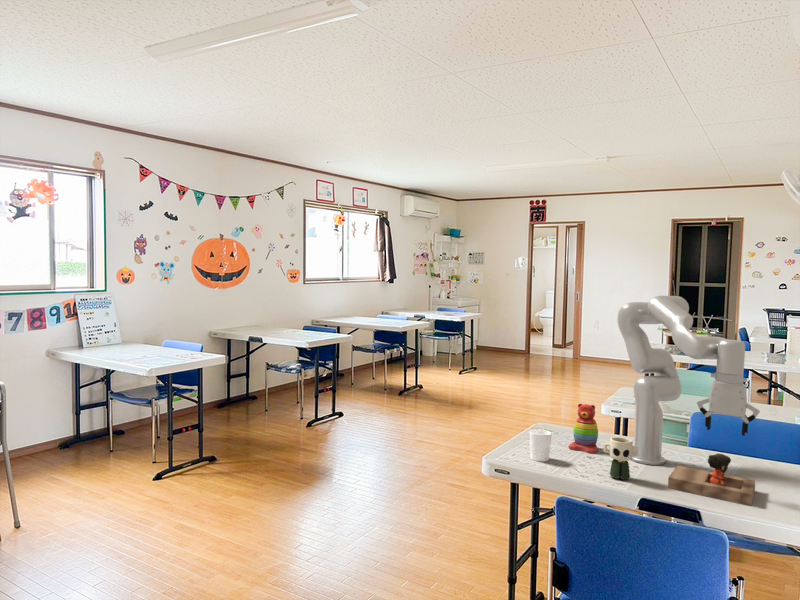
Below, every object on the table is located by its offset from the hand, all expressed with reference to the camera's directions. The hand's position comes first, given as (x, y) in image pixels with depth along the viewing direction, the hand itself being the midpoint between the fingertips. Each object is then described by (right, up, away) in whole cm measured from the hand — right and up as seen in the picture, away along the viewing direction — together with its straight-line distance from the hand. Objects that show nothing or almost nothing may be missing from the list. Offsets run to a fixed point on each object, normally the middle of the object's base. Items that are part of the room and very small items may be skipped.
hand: (725, 431), depth 181 cm
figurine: (-2, -19, +1) cm, 20 cm away
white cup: (-52, -17, +29) cm, 62 cm away
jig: (-4, -19, +3) cm, 20 cm away
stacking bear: (-31, -17, +44) cm, 57 cm away
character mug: (-30, -18, +11) cm, 37 cm away
